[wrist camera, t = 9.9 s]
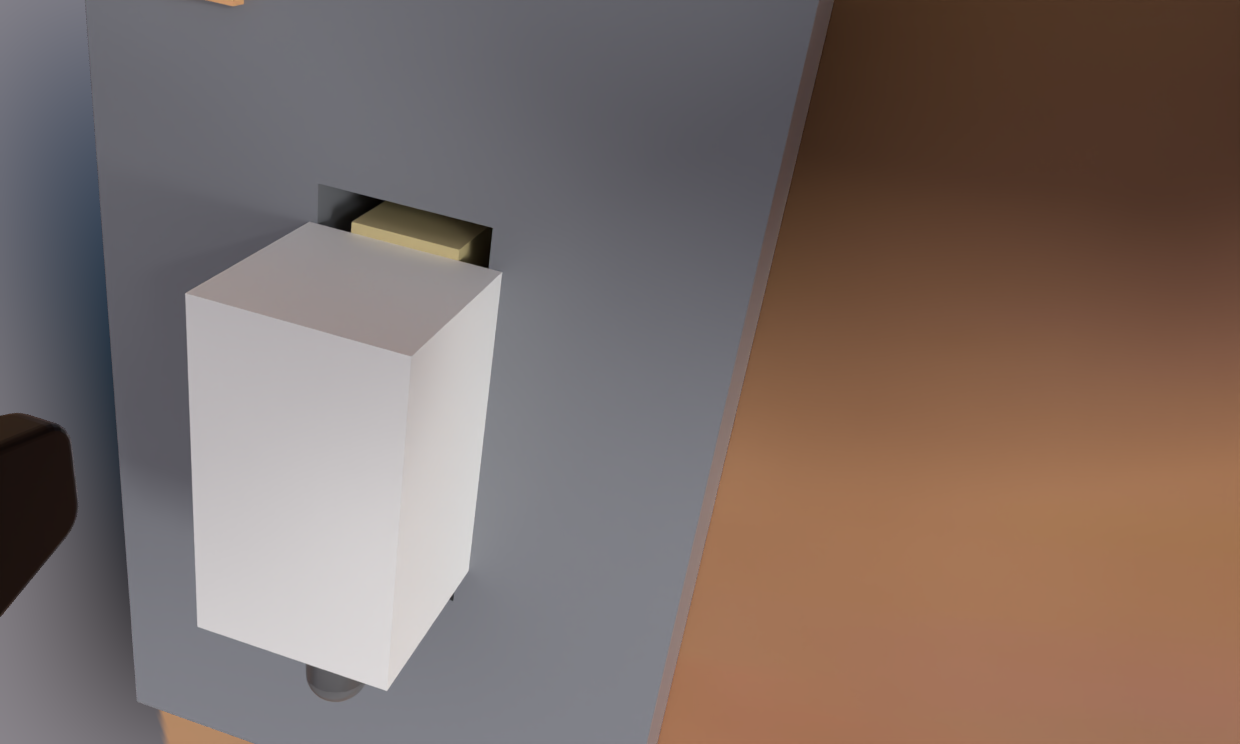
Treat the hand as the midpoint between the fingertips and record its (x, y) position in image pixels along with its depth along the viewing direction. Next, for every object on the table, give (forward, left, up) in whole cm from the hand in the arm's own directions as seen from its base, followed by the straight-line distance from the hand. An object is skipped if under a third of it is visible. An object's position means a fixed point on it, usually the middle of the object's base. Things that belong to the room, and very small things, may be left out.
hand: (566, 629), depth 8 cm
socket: (+6, +5, -13) cm, 15 cm away
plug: (+6, +6, -12) cm, 15 cm away
